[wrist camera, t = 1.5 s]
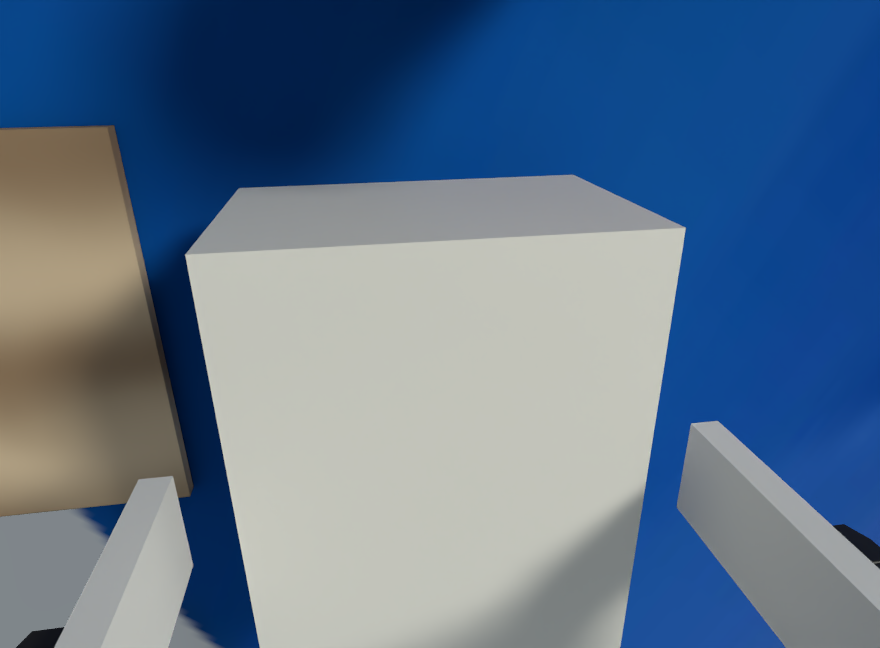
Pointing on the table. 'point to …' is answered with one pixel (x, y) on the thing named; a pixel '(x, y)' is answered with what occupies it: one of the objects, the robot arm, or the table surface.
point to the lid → (436, 405)
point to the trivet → (77, 330)
